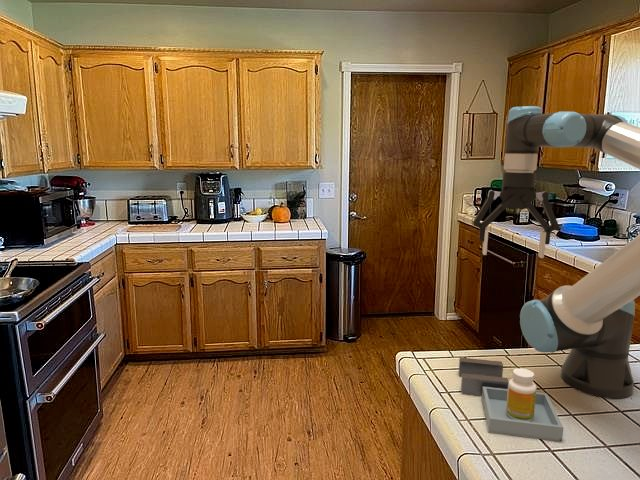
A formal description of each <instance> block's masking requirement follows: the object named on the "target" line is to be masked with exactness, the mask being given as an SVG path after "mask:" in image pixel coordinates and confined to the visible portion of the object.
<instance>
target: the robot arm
mask: <svg viewBox="0 0 640 480" xmlns="http://www.w3.org/2000/svg"><path fill="white" fill-rule="evenodd" d="M505 135H506V136H505V148H504V160H503V170H505V172H503V173H502V183H501V184H502V185H501V190H500V191H495V190H492V189H489V190H488V194H487V197H486V200H485V201H484V202H483V205H482V206H481V208H480V209H479V211H478V213H477V214H476V216H475V217H474V219H473V221H472V225H473V227H476V228H478V229H479V234H478V239H479V242H482V255H483V256H487V255H488V254H487V253H488V242H489V241H488V240H489V229H488V228H487V227H488V226H490V224H491V223H492V222H493V221H494V220H495V219H496V218H497V217H499V215H501V213H503V212H504V211H505V210H506V209H507V208H508V209H510V210H517V209H518V210H521V211H522V210H525V209H527V210H528V211H529V212H530V214H531V215H532V216H533V218H535V220H536V221H537V222H538V224H539V225H540V226H541V227H542V229H543V230H540V233H539V243H538V253H537V256H538V257H539V258H540V259H544V258H545V249H546V245H550V243H551V234H552V232H553V231H558V230H559V229H560V225H559V222H558V220H557V218H556V216H555V213H554V211H553V209H552V207H551V204H550V202H549V193H548V192H547V191H541V192H536V190H535V188H536V180H537V179H536V177H537V174H536V172H535V171H537V167H538V165H537V164H538V158H539V157H538V154H539V148H557V149H558V148H583V149H584V148H587V149H588V148H591V149H595V150H597V151H599V152H601V153H603V154H606V155H608V156H609V157H612V158H614V159H616V160H618V161H622V162H623V163H625V164H627V165H630V166H632V167H634V168H637V169H638V170H640V127H639V126H637V125H633V124H630V123H629V122H628V121H627V119H626V118H625V117H623V116H621V115H615V114H612V113H605V114H603V113H602V114H600V113H599V114H596V113H595V114H594V113H592V114H591V113H578V112H576V111H563V110H562V111H558V112H550V113H543V109H542V108H541V107H540V106H535V105H533V106H532V105H531V106H530V105H528V106H527V105H526V106H524V105H523V106H513V107H511V108H510V109H509V111H508V115H507V122H506V134H505ZM498 197H500V199H501V201H502V202H501V203H500V204H499V205H497V207H496V208H495V209H494V210H493V211H492V212H491V213H490V214H489V215H488V216H487V217H486V218H485V219H484V220H483V221H482V219H483V218H484V217H485V215H486V213H487V211H488V210H489V208H490V207H491V205H492V203H493V201H495V200H496V199H497V198H498ZM536 198H537V200H538V201H540V202H541V205H542V207H543V210H544V212H545V215H546V216H547V219H548V221H549V223H550V224H548V223H547V221H546V220H545V219H544V217H542V215H541V214H540V213H539V211H538V210H537V209H536V207H535V205H533V204H532V203H533V201H534V200H535V199H536ZM481 221H482V222H481ZM638 297H640V233H639V234H638V235H636V236H635V237H634V238H633V239H632V240H630V241H629V242H628V243H625V244H624V246H622V247H620V249H619V250H617V251H616V252H615V253H613V254H612V255H611V256H610V257H608V258H607V259H605V260H604V261H603V262H602V263H600V264H599V265H598V266H596V267H595V268H594V269H593V270H591V271H590V272H588V273H587V274H586V275H585V276H584V277H582V278H581V279H580V280H578V281H577V282H576V283H574V284H573V285H569V284H568V285H561V286H559V287H558V288H556V289H554V290H553V291H552V292H551V293H549V294H548V295H547V296H546V297H544V298H541V299H532V300H530V301H527V302H525V303H524V304H523V306H522V308H521V310H520V313H519V318H520V320H519V324H520V329H521V330H520V331H521V332H522V335H523V337H524V339H525V341H526V342H527V344H528V346H530V347H531V348H532V349H534V350H535V351H537V352H539V353H551V354H552V353H555V352H562V351H567V350H570V351H569V353H568V355H567V356H566V358H565V360H564V362H563V364H562V366H561V371H560V378H561V380H562V381H563V382H564V383H565V384H566V385H567V386H569V387H570V388H572V389H574V390H575V391H578V392H581V393H584V394H587V395H590V396H593V397H594V396H595V397H598V398H605V399H625V398H628V397H629V396H631V395H632V394H633V393H634V385H635V383H634V381H635V380H634V378H633V374H632V369H631V365H630V362H629V361H630V360H629V355H630V347H631V339H632V334H633V327H634V326H633V325H634V319H635V317H636V314H635V312H636V311H635V309H636V302H635V300H636V299H637V298H638Z"/></svg>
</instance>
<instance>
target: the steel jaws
mask: <svg viewBox="0 0 640 480" xmlns="http://www.w3.org/2000/svg"><path fill="white" fill-rule="evenodd" d="M503 372H504V364H503V361H499V360H491V359H480V358H470V357H461V356H460V357H459V362H458V376H459V377H461V380H460V381H461V383H460V394H461V395H465V396H466V395H467V396H475V397H482V388H483V387H492V388H501V389H508V383H509V381H510V380H509V378H508V377H503Z"/></svg>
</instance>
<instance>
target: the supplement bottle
mask: <svg viewBox="0 0 640 480" xmlns="http://www.w3.org/2000/svg"><path fill="white" fill-rule="evenodd" d="M534 378H535V374H534V372H532V371H531V370H529V369H526V368H515V369H513V370H512V378H511V379H510V380H508V381H509V383H508V393H507V404H506V414H507V415H508V416H509V417H510V418H511V419H513V420H521V421H529V422H530V421H532V420H533V418H534V409H535V399H536V392H537V385H536V383H535V382H534Z"/></svg>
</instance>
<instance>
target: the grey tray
mask: <svg viewBox="0 0 640 480" xmlns="http://www.w3.org/2000/svg"><path fill="white" fill-rule="evenodd" d="M507 393H508V389H501V388H492V387H483V388H482V396H481V402H482V406H483V407H482V408H483V412H484V416H485V420H486V421H485V422H486V424H487V425H486V427H487V431H488V433H491V434H500V435H507V436H514V437H515V436H516V437H523V438H529V439H538V440H546V441H551V442H552V441H554V442H560V443H561V442H563V435H564V426H563V424H562V422H561V419H560V417H559V415H558V413H557V411H556V409H555V407H554V405H553V403H552V401H551V399H550V397H549V394H548V393H545V392H537V391H536V399H535V409H534V418H533V420H532V421H530V422H529V421H521V420H513V419H511V418H510V417H509V416H508V415H507V414H506V404H507Z"/></svg>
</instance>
